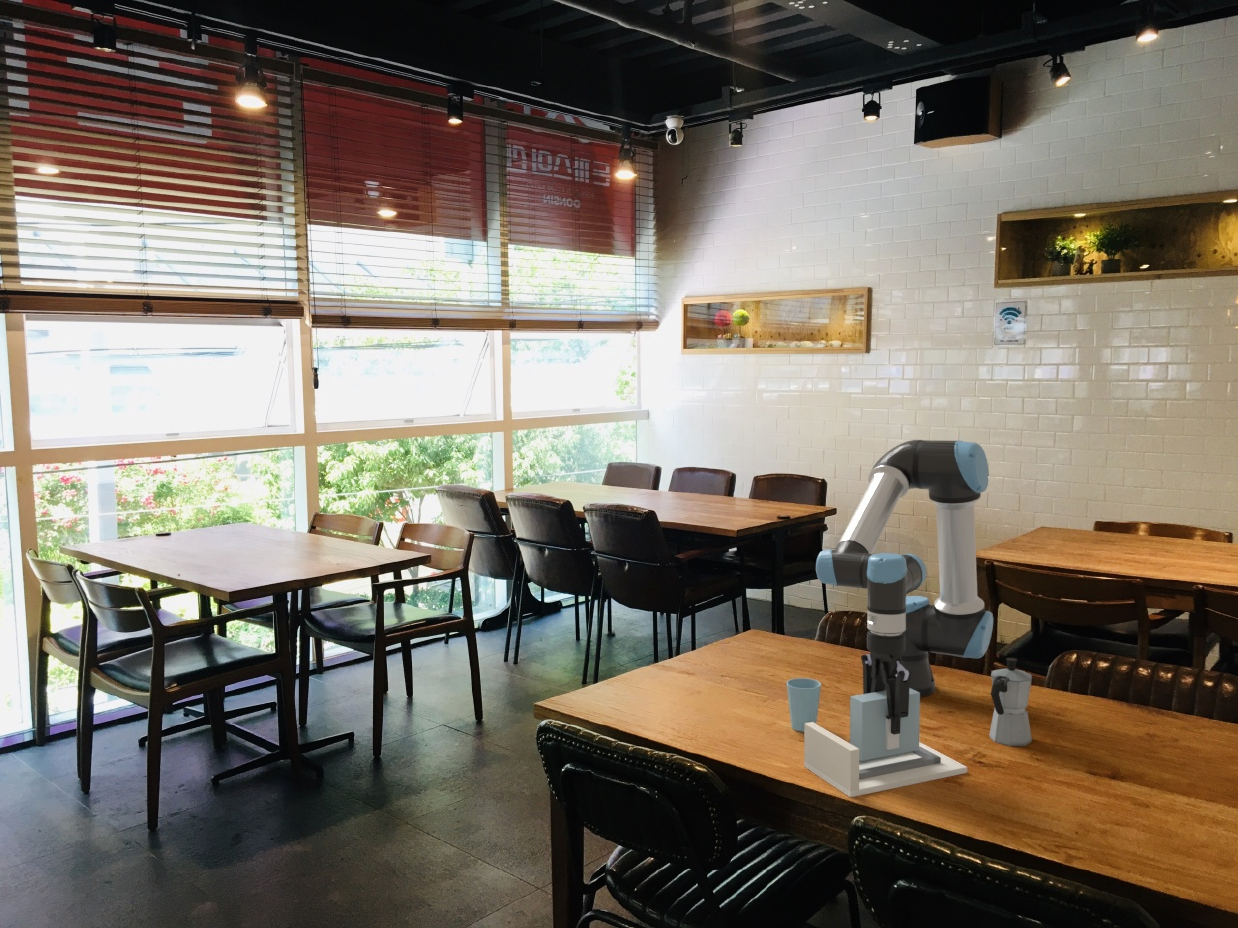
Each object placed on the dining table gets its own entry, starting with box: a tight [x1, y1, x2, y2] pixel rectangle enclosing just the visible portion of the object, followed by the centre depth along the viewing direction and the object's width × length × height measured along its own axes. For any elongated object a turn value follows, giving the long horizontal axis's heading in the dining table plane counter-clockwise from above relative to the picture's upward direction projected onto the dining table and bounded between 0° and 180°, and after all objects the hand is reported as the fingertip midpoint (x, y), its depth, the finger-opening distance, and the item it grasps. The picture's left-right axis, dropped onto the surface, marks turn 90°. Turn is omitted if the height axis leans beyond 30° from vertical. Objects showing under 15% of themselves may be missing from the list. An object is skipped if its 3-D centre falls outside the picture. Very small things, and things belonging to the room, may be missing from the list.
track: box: [803, 722, 968, 798], centre depth 202 cm, size 28×16×9 cm, turn 112°
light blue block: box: [849, 688, 921, 761], centre depth 201 cm, size 14×4×12 cm, turn 112°
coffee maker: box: [988, 657, 1033, 747], centre depth 216 cm, size 15×9×18 cm, turn 135°
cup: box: [786, 677, 822, 733], centre depth 226 cm, size 8×8×10 cm
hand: (884, 743), depth 202 cm, fingers closed on light blue block, 4 cm apart
